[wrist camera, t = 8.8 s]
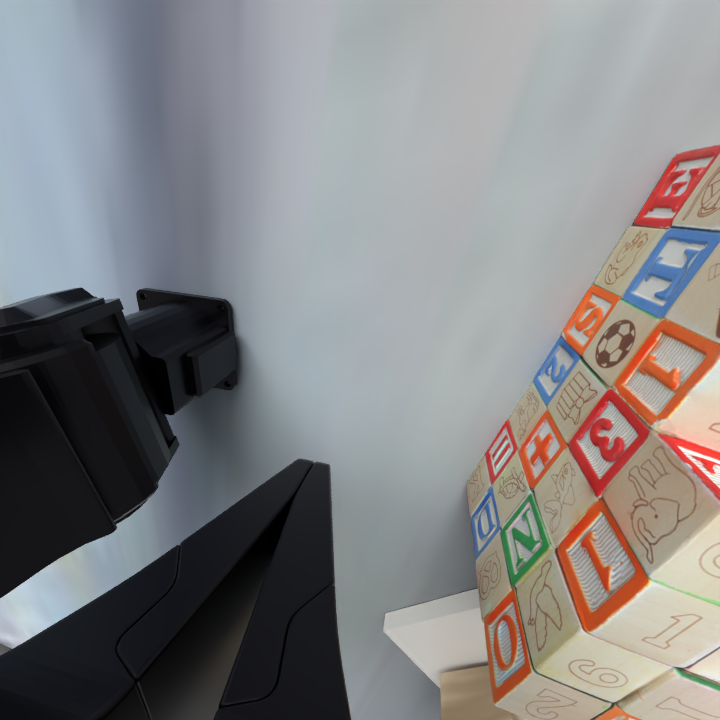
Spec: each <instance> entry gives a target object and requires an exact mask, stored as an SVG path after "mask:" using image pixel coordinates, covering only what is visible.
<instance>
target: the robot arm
mask: <svg viewBox="0 0 720 720" xmlns="http://www.w3.org/2000/svg"><path fill="white" fill-rule="evenodd" d="M144 294H145V295H146V297H147V298H146V297H145V295H144ZM136 295H137V301H138V306H139V312H136V313H133V314H130V315H127V316H124V314H123V312H122V310H123V309H124V308H123V306H122V303H121V301H120V299H119V298H117V299H109V300H104V298H97V297H94V296H92V295H91V294H90V293H88V292H87V291H85V290H84V289H83V288H74V289H69V290H64V291H59V292H55V293H50V294H46V295H41V296H37V297H33V298H29V299H26V300H23V301H20V302H16V303H13V304H10V305H7V306H4V307H1V308H0V598H1V597H3V596H5V595H6V594H7V593H9V592H10V591H12V590H13V589H15V588H16V587H17V586H19V585H20V584H22V583H23V582H25V581H26V580H27V579H29V578H30V577H32V576H33V575H35V574H36V573H38V572H39V571H40V570H42V569H43V568H45V567H46V566H48V565H50V564H51V563H53V562H54V561H56V560H57V559H59V558H61V557H62V556H64V555H66V554H68V553H70V552H72V551H73V550H75V549H77V548H79V547H81V546H83V545H84V544H87V543H89V542H92V541H94V540H97V539H99V538H101V537H104V536H106V535H109V534H111V533H113V532H114V531H115V530H116V529H117V526H116V524H117V523H119V522H121V521H122V520H124V519H126V518H127V517H129V516H130V515H131V514H133V513H134V512H135V511H136V510H138V509H139V508H140V507H141V506H142V505H143V504H144V503H145V502H146V501H147V499H148V498H149V497H150V496H152V495H153V494H154V493H155V491H156V490H157V488H158V482H159V480H160V478H161V476H162V475H163V473H164V471H165V469H166V468H167V466H168V465H169V462H170V461H171V459H172V457H173V455H174V454H175V452H176V450H177V448H178V447H179V442H178V439H177V437H176V436H174V435H173V432H172V430H171V428H170V425H169V423H168V420H167V418H166V416H165V414H167V415H173V414H175V413H176V412H177V411H179V410H180V409H181V408H182V407H184V406H185V405H186V404H187V403H189V402H190V401H191V400H192V399H194V398H195V397H201V396H203V395H204V394H205V393H206V392H208V391H209V390H210V389H211V388H219V389H224V390H232V389H233V388H234V387H235V386H236V385H237V377H236V368H237V359H236V346H235V335H234V333H233V327H232V314H231V306H230V303H229V302H228V301H227V300H225V299H221V298H214V297H207V296H199V295H192V294H185V293H178V292H170V291H163V290H156V289H149V288H144V289H140V290H138V291H137V293H136ZM220 304H221V305H222V306H223V307H224V310H222V309H221V307H220ZM227 381H229V382H230V384H229V383H228V382H227ZM334 585H335V577H334V551H333V525H332V500H331V474H330V465H329V464H325V463H321V462H315V463H314V462H313V461H311V460H306V459H297V460H296V461H294V462H293V463H292V464H290V465H289V466H287V467H286V468H285V469H283V470H282V471H280V472H279V473H278V474H276V475H275V476H273V477H272V478H271V479H269V480H268V481H266V482H265V483H264V484H262V485H261V486H259V487H258V488H257V489H255V490H254V491H252V492H251V493H250V494H248V495H247V496H245V497H244V498H243V499H241V500H240V501H238V502H237V503H236V504H234V505H233V506H231V507H230V508H229V509H227V510H226V511H224V512H223V513H222V514H220V515H219V516H217V517H216V518H215V519H213V520H212V521H210V522H209V523H208V524H206V525H205V526H203V527H202V528H201V529H199V530H198V531H196V532H195V533H194V534H192V535H191V536H189V537H188V538H187V539H185V540H184V541H182V542H181V544H180V545H177V546H175V547H174V548H172V549H171V550H170V551H168V552H167V553H165V554H164V555H163V556H161V557H160V558H158V559H157V560H155V561H154V562H152V563H151V564H149V565H148V566H147V567H145V568H144V569H142V570H141V571H139V572H138V573H136V574H135V575H133V576H132V577H130V578H129V579H127V580H125V581H124V582H122V583H121V584H119V585H117V586H116V587H114V588H113V589H111V590H109V591H108V592H106V593H105V594H103V595H101V596H100V597H98V598H97V599H95V600H93V601H92V602H90V603H88V604H87V605H85V606H83V607H82V608H80V609H78V610H77V611H75V612H73V613H72V614H70V615H68V616H67V617H65V618H64V619H62V620H60V621H59V622H57V623H55V624H54V625H52V626H50V627H49V628H47V629H45V630H44V631H42V632H40V633H39V634H37V635H36V636H34V637H32V638H31V639H29V640H27V641H26V642H24V643H22V644H21V645H19V646H17V647H15V648H14V649H12V650H10V651H8V652H7V653H5V654H3V655H1V656H0V720H351V715H350V709H349V703H348V697H347V691H346V685H345V679H344V673H343V667H342V660H341V652H340V645H339V638H338V628H337V615H336V597H335V586H334Z"/></svg>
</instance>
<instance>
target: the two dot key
mask: <svg viewBox="0 0 720 720" xmlns="http://www.w3.org/2000/svg"><path fill="white" fill-rule="evenodd" d="M440 687H441V720H528V719H525V718H523V717H520V716H518V715H516V714H513V713H511V712H509V711H506V710H504V709H502V708H499V707H497V706H495V705H494V702H493V698H492V691H491V683H490V674H489V665H487V666H481V667H475V668H469V669H464V670H458V671H452V672H446V673H440Z"/></svg>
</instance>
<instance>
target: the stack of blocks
mask: <svg viewBox="0 0 720 720" xmlns="http://www.w3.org/2000/svg"><path fill="white" fill-rule="evenodd" d="M466 489H467V496H468V505H469V513H470V518H471V524H472V532H473V540H474V549H475V559H476V575H477V584H478V593H479V602H480V610H481V618H482V622H483V623H484V629H485V639H486V649H487V657H488V665H489V674H490V683H491V691H492V698H493V702H494V705H495V706H497V707H499V708H502V709H504V710H506V711H509V712H511V713H513V714H516V715H518V716H520V717H523V718H525V719H528V720H720V145H715V146H712V147H706V148H701V149H695V150H691V151H686V152H682V153H679V154H676V155H675V157H674V158H673V159H672V161H671V163H670V164H669V166H668V168H667V169H666V171H665V173H664V174H663V176H662V177H661V179H660V181H659V182H658V184H657V186H656V187H655V189H654V190H653V192H652V194H651V195H650V197H649V199H648V200H647V202H646V203H645V205H644V206H643V208H642V210H641V212H640V214H639V215H638V216H637V218H636V219H635V221H634V224H633V226H631V227H629V228H628V229H627V230H626V232H625V233H624V235H623V236H622V238H621V240H620V241H619V243H618V244H617V246H616V247H615V249H614V251H613V252H612V254H611V255H610V257H609V259H608V260H607V262H606V263H605V265H604V267H603V268H602V270H601V271H600V273H599V275H598V276H597V278H596V280H595V282H594V284H593V285H592V286H591V287H590V289H589V290H588V292H587V293H586V295H585V296H584V298H583V300H582V301H581V303H580V304H579V306H578V307H577V309H576V311H575V312H574V314H573V315H572V317H571V318H570V320H569V322H568V323H567V325H566V326H565V328H564V329H563V331H562V333H561V337H560V339H559V340H558V341H557V343H556V344H555V346H554V348H553V349H552V351H551V353H550V354H549V356H548V357H547V359H546V360H545V362H544V364H543V365H542V367H541V368H540V370H539V372H538V373H537V375H536V376H535V378H534V381H533V382H532V383H531V385H530V386H529V388H528V389H527V391H526V393H525V394H524V396H523V397H522V399H521V401H520V402H519V404H518V405H517V407H516V408H515V410H514V412H513V413H512V415H511V417H510V418H509V420H507V421H506V422H505V424H504V425H503V427H502V428H501V430H500V432H499V433H498V435H497V437H496V438H495V440H494V441H493V443H492V444H491V446H490V447H489V449H488V451H487V452H486V454H485V455H484V456H483V458H482V459H481V461H480V462H479V464H478V466H477V467H476V469H475V470H474V472H473V473H472V475H471V477H470V478H469V480H468V481H467V483H466Z"/></svg>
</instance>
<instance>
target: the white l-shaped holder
mask: <svg viewBox="0 0 720 720" xmlns="http://www.w3.org/2000/svg"><path fill="white" fill-rule="evenodd" d="M383 632H384V633H385V634H386V635H387V636H388V637H389V638H390V639H391V640H392V641H393V642H394V643H395V644H396V645H397V646H398V647H399V648H400V649H401V650H402V651H403V652H404V653H405V654H406V655H407V656H408V657H409V658H410V659H411V660H412V661H413V662H414V663H415V664H416V665H417V666H418V667H419V668H420V669H421V670H422V671H423V672H424V673H425V674H426V675H427V676H428V677H429V678H430V679H431V680H432V681H433V682H434V683H435V684H436V685H437V686H438V687H439V688H440V689H441V687H440V673H446V672H452V671H458V670H464V669H469V668H475V667H481V666H487V665H488V657H487V649H486V639H485V629H484V623H483V622H482V618H481V610H480V602H479V593H478V588H477V589H473V590H470V591H466V592H462V593H459V594H455V595H451V596H448V597H444V598H440V599H436V600H433V601H429V602H425V603H422V604H418V605H414V606H411V607H407V608H403V609H399V610H396V611H392V612H388V613H385V620H384V629H383Z"/></svg>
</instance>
